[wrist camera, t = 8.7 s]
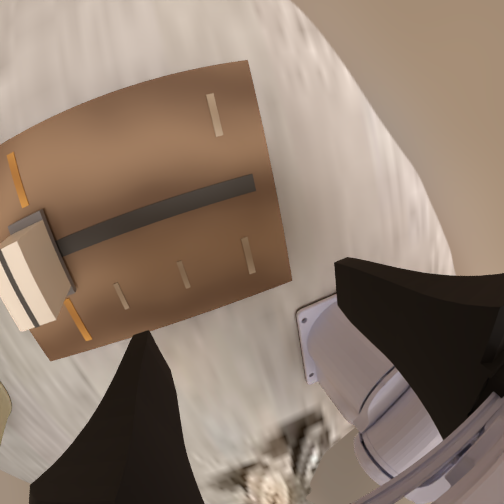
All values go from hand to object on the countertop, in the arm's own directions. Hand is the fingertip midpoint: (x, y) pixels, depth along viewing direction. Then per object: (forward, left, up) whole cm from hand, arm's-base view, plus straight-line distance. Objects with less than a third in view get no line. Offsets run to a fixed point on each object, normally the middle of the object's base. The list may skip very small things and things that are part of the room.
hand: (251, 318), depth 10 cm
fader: (+3, +10, -7) cm, 12 cm away
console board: (+3, +5, -9) cm, 11 cm away
